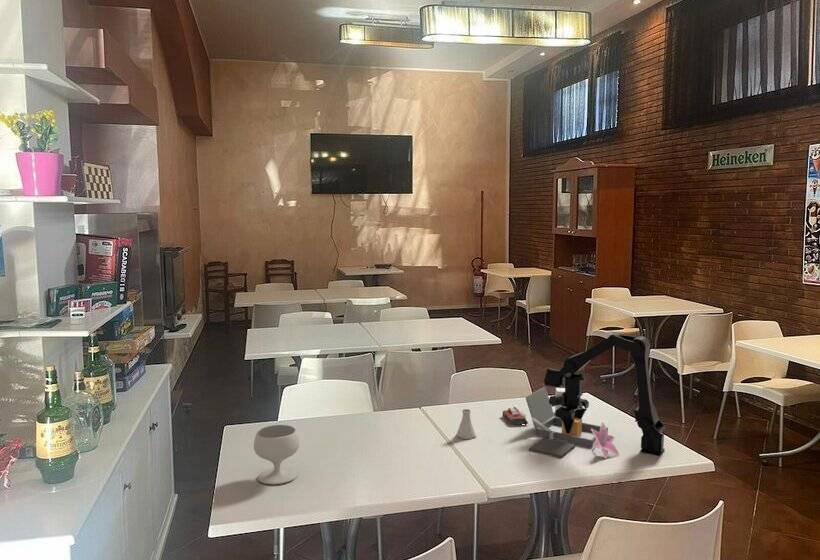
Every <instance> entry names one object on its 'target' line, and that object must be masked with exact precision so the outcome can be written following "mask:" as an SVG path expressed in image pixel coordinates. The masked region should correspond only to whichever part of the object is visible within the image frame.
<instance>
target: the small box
mask: <svg viewBox="0 0 820 560" xmlns="http://www.w3.org/2000/svg"><path fill="white" fill-rule="evenodd" d="M554 388H555V389H554V390H555V392H554V393H555V396H556V395H562V393H563V392H565V387H561V388H557V387H554ZM560 407H563V406H561V405H556V406H554V409H555V410H554V412H555V411H556V410H557V409H559V408H560ZM564 408H566V407H564Z"/></svg>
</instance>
